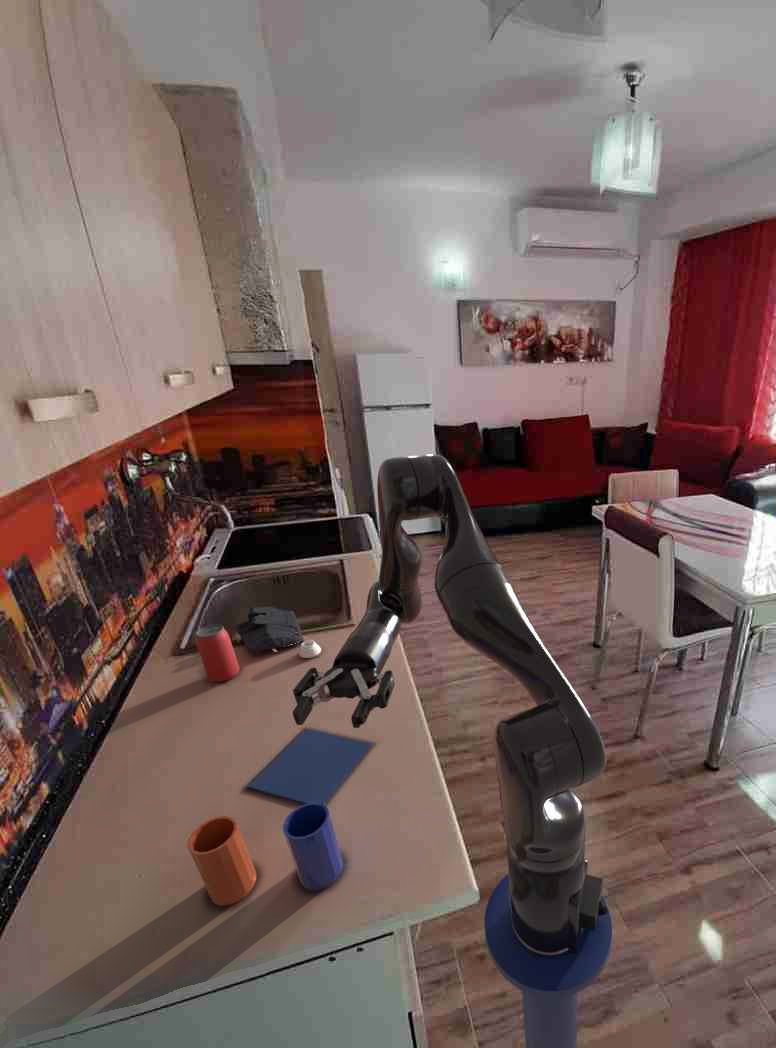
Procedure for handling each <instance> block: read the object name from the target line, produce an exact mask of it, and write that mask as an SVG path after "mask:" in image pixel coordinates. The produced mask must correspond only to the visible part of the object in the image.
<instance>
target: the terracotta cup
mask: <svg viewBox="0 0 776 1048" xmlns="http://www.w3.org/2000/svg"><path fill="white" fill-rule="evenodd" d="M186 847H187V850H188V852H189V854H190V857H191V859H192V861H193V863H194V865H195V868H196V869H197V872H198V874H199V876H200V878H201V881H202V883H203V885H204V887H205V889H206V891H207V893H208V895H209V898H210V899H211V901H212V903H214V904H215V905H217V906H229V905H233V904H235V903H237V902H239V901H241V900H242V899H243V898H245V897H246V896H247V895H248V894H249V893H250V892H251V891H252V889H253V888H254V886H255V884H256V881H257V871H256V867H255V865H254V863H253V860H252V858H251V855H250V852H249V850H248V847H247V845H246V842H245V839H244V837H243V834H242V832H241V828H240V827H239V823H238V822H237V821H236V819H235V818H234V817H232V816H228V815H222V816H216V817H213V818H210V819H207V820H206V821H205V822H203V823H202V824H200V825H199V826H198V827H197V828H195V830H193V832H192V833H191V834H190V836H189V838H188V840H187V846H186Z"/></svg>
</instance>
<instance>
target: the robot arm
mask: <svg viewBox="0 0 776 1048" xmlns="http://www.w3.org/2000/svg"><path fill="white" fill-rule="evenodd" d="M376 483H377V485H376V490H377V507H378V521H379V534H380V544H381V557H380V558H381V560H380V566H379V567H380V568H379V574H378V575H379V576H378V581H376V582H374V583H373V584H372V586H371V587H370V589H369V591H368V594H367V598H366V608H365V613H364V614H363V617H362V618H361V620H360V621H359V623H358V625H357V626H356V628H355V629H354V630H353V631H352V632H351V633H350V634H349V636H348V637H347V638H346V641H345V642H344V643H343V645H342V647H341V648H340V650H339V652H338V653H337V655H336V656H335V658H334V660H333V663H332V665H331V668H329V669H327V670H326V671H325V672H320V671H318V669H317V668H316V667H311V668H309V669H308V670H307V671H306V673H305V674H304V675H303V677H302V678H301V679H300V680H299V682H298V683H297V685H296V686H295V687H294V688H293V689H292V692H293V697H294V699H295V703H296V706H295V707H294V708H293V710H292V716H293V719H294V722H295V724H296V725H297V726H303V725H304V724H305V722H306V720H307V719H308V717H309V716H310V714H311V712H312V711H313V708H314V707H315V706H317V705H319V704H320V703H323V704H324V703H327V702H329V701H331V700H333V699H334V698H335V699H341V698H346V699H355V698H357V697H358V698H359V700H358V703H357V704H356V707H355V708H354V711H353V713H352V715H351V718H350V720H351V724H352V728H353V729H360V727H361V725H364V724H365V723H366V722H367V721H368V717H369V716H370V713H371V712H372V711H374V709H375V708H379V709H380V710H383V709H386V708H387V707H388V705H389V702H390V699H391V697H392V693H393V691H394V688H395V679H394V673H393V671H392V670H390V669H389V670H385V671H384V673H383V674H382V671H383V669H384V667H385V666H386V664H387V661H388V659H389V658H390V655H391V652H392V650H393V646H394V644H395V642H396V640H397V638H398V636H399V634H400V632H401V629H402V625H409V624H411V623H414V622H415V621H416V620H417V619H418V618H419V616H420V614H421V611H422V606H423V597H422V593H421V589H420V585H419V577H420V574H421V568H422V554H421V550H420V548H419V546H418V545H417V543H416V542H415V540H414V539H413V538H412V537H411V536H410V534H408V533H407V531H406V530H405V528H404V527H403V525H402V523H403V522H404V521H415V520H422V519H430V518H439V519H440V520H441V521H442V523H443V525H444V527H445V538H444V543H443V545H442V549H441V553H440V555H439V559H438V561H437V564H436V565H437V566H436V569H435V574H434V590H435V592H436V596H437V600H438V601H439V604H440V605H441V608H442V610H443V612H444V615H445V617H446V619H447V621H448V623H449V625H450V628H451V629H452V631H453V632H454V634H455V635H457V637H458V638H459V639H460V640H461V641H463V642H464V643H465V644H466V645H467V646H469V647H470V648H472V649H473V650H475V652H478V653H479V654H481V655H482V656H484V657H486V658H487V659H489V660H491V661H492V662H494V663H495V664H497V665H498V666H500V667H501V668H503V669H504V670H505V671H507V672H508V673H510V674H511V675H512V676H513V677H514V678H515V679H516V680H517V681H518V682H519V683H520V684H521V685H522V686H523V687H524V689H525V690H526V691H527V693H528V694H529V695H530V697H531V698H532V700H533V701H534V703H535V704H536V706H533V707H530V708H528V709H525V710H522V711H520V712H517V713H515V714H512V715H508V716H507V717H504V718H502V719H500V720H499V721H497V723H496V725H495V727H494V730H493V736H492V747H493V756H494V762H495V769H496V775H497V782H498V792H499V801H500V805H501V811H502V815H503V820H504V829H505V839H506V840H505V842H506V855H507V869H508V874H509V885H510V896H509V899H510V898H511V903H510V906H511V921H512V928H513V931H514V934H515V936H516V938H517V940H518V941H519V943H520V944H521V945H522V946H523V947H524V948H525V949H526V950H527V951H529V952H530V953H532V954H534V955H537V956H540V957H544V958H555V957H559V956H562V955H565V954H567V953H573V954H578V951H579V946H580V941H581V937H582V934H583V930H584V928H585V929H588V930H591V931H595V930H596V925H597V919H598V916H600V915H605V914H607V912H608V908H609V906H608V907H607V906H606V905H605V904H604V903H602V902H601V897H602V895H603V885H604V884H603V881H604V878H601V877H598V876H595V875H592V874H591V875H590V874H589V861H588V859H585V858H586V857H585V855H586V851H585V849H586V848H585V847H586V812H585V809H584V805H583V804H582V801H581V800H580V798H579V797H578V795H577V794H576V793H575V792H574V791H573V789H576V788H578V787H581V786H583V785H585V784H587V783H589V782H591V781H593V780H595V779H597V778H599V777H600V776H601V775H602V774H603V773H604V771H605V769H606V766H607V753H606V747H605V744H604V741H603V738H602V735H601V733H600V731H599V728H598V726H597V725H596V722H595V721H594V718H593V716H592V714H590V711H589V710H588V709H587V707H586V705H585V704H584V702H583V700H582V699H581V698H580V696H579V694H578V693H577V691H576V690H575V688H574V687H573V685H572V684H571V683H570V681H569V680H568V678H567V677H566V676H565V674H564V672H563V671H562V669H561V668H560V666H559V665H558V663H557V662H556V660H555V659H554V657H553V655H552V654H551V653H550V652H549V650H548V648H547V647H546V645H545V644H544V641H542V639H541V637H540V635H539V634H538V632H537V630H536V628H535V627H534V625H533V623H532V621H531V620H530V617H529V616H528V614H527V612H526V610H525V608H524V605H522V602H521V600H520V598H519V597H518V594H517V592H516V590H515V588H514V586H513V585H512V583H511V580H510V579H509V577H508V576H507V574H506V572H505V570H504V569H503V566H502V565H501V563H500V562H499V560H498V558H497V557H496V555H495V553H494V552H493V550H492V548H491V546H490V545H489V543H488V541H487V540H486V537H485V535H484V533H483V532H482V530H481V528H480V526H479V524H478V522H477V520H476V517H475V516H474V513H473V511H472V509H471V506H470V504H469V501H468V499H467V496H466V495H465V492H464V490H463V487H462V485H461V483H460V480H459V478H458V476H457V474H456V471H455V470H454V468H453V466H452V465H451V463H450V461H449V460H447V458H446V457H444V456H443V455H441V454H432V453H430V454H418V455H417V454H416V455H405V456H396V457H390V458H386V459H384V460H383V461H382V463H381V464H380V466H379V468H378V474H377V482H376ZM377 684H378V685H379V686H378V688H377V691H376V693H375V694H372V692H370V689H372V688H374V687H375V686H376V685H377ZM326 686H327V687H326ZM325 687H326V688H327V689H328V692H326V690H325ZM316 694H317V695H316ZM315 695H316V696H315ZM313 696H315V697H313ZM508 893H509V890H508Z"/></svg>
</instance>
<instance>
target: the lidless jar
mask: <svg viewBox="0 0 776 1048" xmlns="http://www.w3.org/2000/svg"><path fill="white" fill-rule="evenodd" d="M320 653H322V648H321V647H320V645H318V643H317V642H315V640H313V639H309V640H305V641H303V642H302V643H301V646H300V648H299V653H298V655H299V657H300V658H302V659H310V658H313V657H316V656H319V654H320Z"/></svg>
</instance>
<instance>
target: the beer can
mask: <svg viewBox="0 0 776 1048" xmlns="http://www.w3.org/2000/svg"><path fill="white" fill-rule="evenodd" d="M195 636H196V637H195V644H196V645H195V646H196V647H197V650H198V653H199V655H200V658H201V662H202V664H203V667H204V670H205V672H206V675H207V678H208V680H209V681H211V682H213V683H223V682H226V681H229V680H231V679H233V678H235V677H236V676H238V674H239V673H240V668H241V667H240V665H239V661H238V658H237V656H236V653H235V650H234V647H233V643H232V641H231V638H230V634H229V633H228V631H227V630H226V629H225V628H224V626H223V624H210V625H206V626H203V627H201V628H200V629H198V630H197V631H196V632H195Z"/></svg>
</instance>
